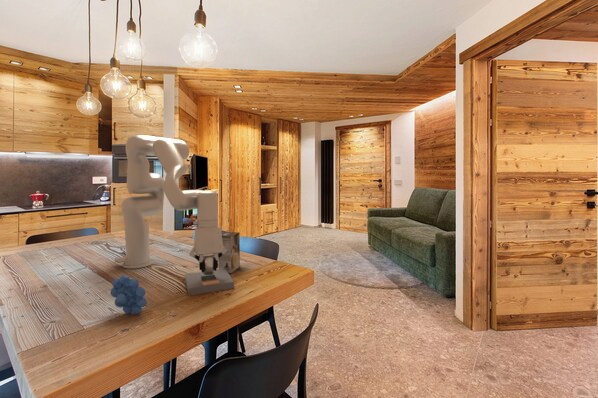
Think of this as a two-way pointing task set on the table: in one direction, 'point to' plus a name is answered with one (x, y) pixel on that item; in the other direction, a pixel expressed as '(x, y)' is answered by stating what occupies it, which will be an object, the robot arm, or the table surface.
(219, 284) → the hole board
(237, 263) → the coffee box
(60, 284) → the table surface
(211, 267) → the peg
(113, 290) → the grapes
